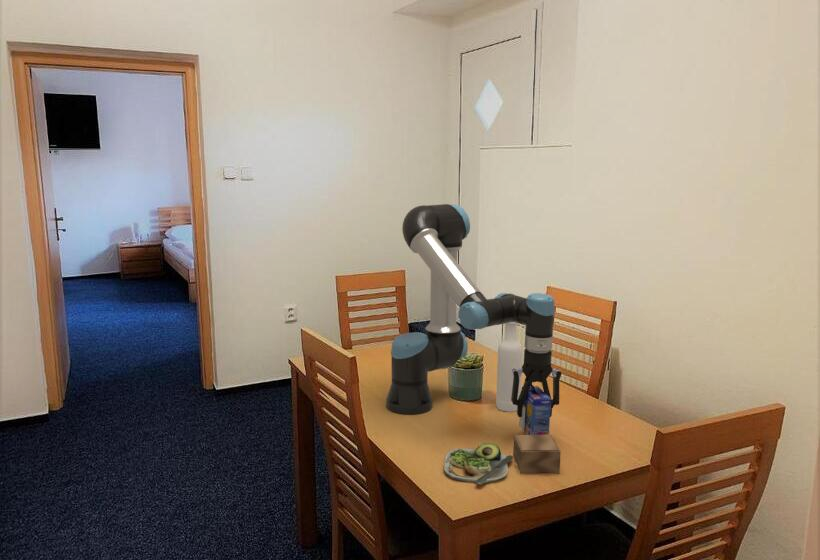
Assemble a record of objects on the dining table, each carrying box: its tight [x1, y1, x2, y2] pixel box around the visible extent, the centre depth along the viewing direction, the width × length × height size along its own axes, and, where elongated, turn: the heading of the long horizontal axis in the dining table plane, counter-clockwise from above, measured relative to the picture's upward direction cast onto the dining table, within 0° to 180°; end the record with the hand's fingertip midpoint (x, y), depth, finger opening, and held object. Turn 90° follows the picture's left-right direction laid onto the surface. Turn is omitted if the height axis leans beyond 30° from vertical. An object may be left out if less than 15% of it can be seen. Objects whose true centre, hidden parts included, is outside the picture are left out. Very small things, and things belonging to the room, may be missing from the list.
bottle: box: [495, 322, 524, 413], centre depth 206 cm, size 8×8×30 cm
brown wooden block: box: [512, 434, 561, 475], centre depth 168 cm, size 10×10×6 cm
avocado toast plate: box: [443, 442, 514, 485], centre depth 165 cm, size 19×18×5 cm
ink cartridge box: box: [518, 384, 552, 435], centre depth 182 cm, size 10×6×14 cm, turn 12°
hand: (533, 426), depth 184 cm, fingers closed on ink cartridge box, 6 cm apart
